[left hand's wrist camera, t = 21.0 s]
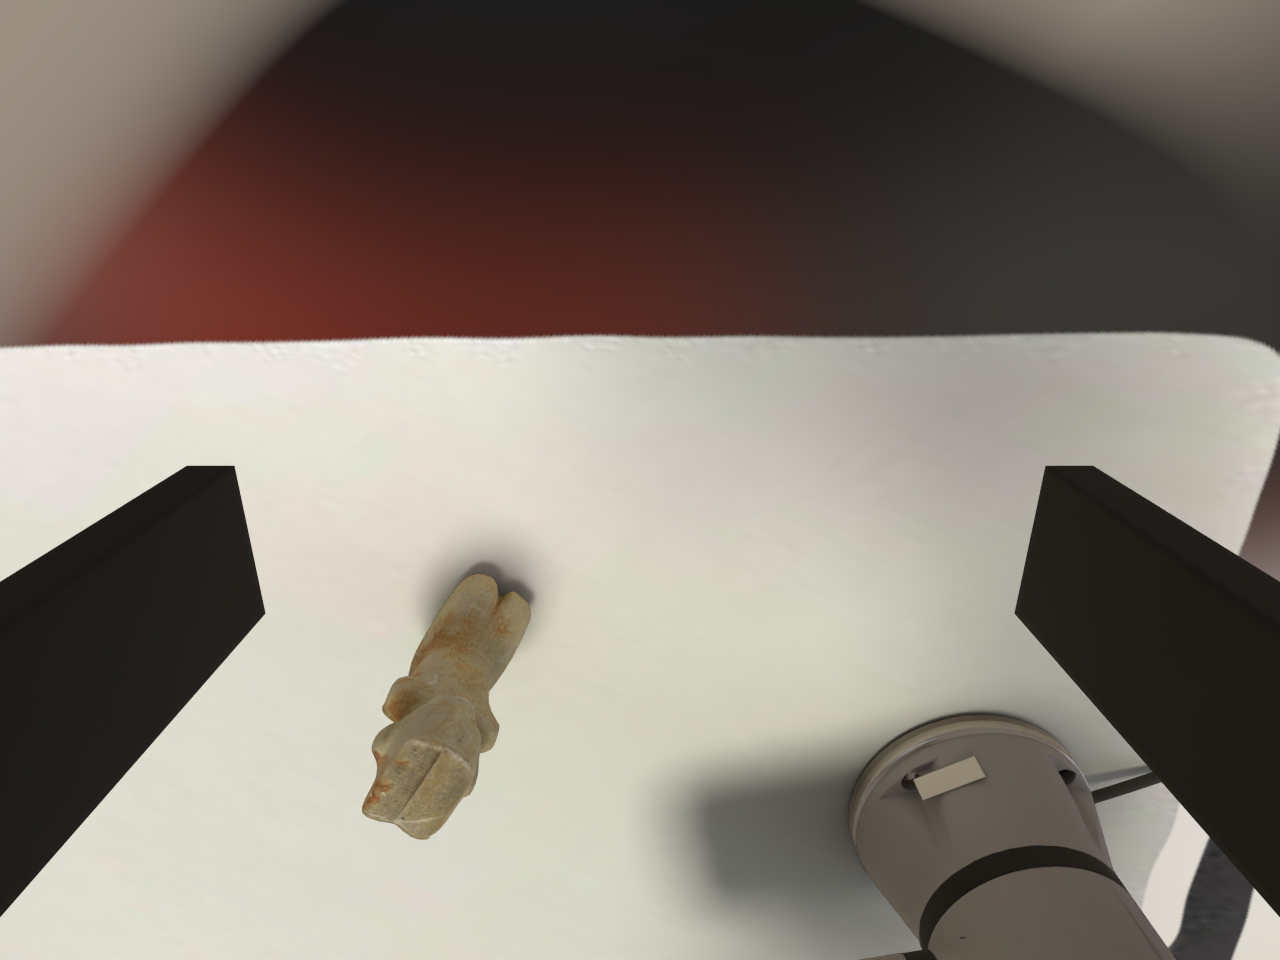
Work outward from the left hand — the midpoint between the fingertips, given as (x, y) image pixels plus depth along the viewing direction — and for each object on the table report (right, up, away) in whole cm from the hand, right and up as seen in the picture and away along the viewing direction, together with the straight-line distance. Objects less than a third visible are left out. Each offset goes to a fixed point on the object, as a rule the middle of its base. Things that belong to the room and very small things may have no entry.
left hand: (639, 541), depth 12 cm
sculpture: (-10, -7, +33) cm, 35 cm away
